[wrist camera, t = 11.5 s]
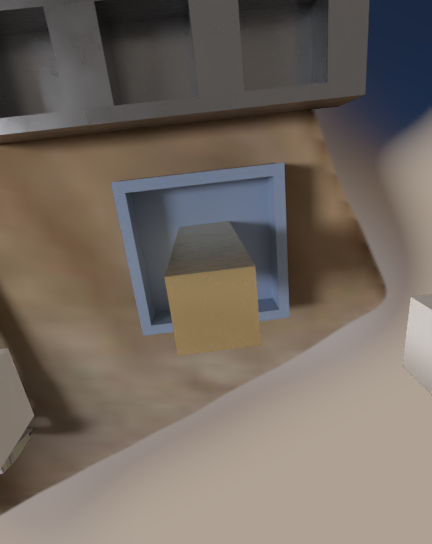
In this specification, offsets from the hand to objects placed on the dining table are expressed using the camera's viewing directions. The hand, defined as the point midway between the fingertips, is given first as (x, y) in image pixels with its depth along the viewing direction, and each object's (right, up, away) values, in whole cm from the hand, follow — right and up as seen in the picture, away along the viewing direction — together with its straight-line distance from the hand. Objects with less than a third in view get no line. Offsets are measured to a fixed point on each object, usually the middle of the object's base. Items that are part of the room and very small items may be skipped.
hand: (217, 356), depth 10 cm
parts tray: (-1, +5, +16) cm, 17 cm away
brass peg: (-1, +5, +15) cm, 16 cm away
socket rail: (-4, +17, +11) cm, 21 cm away
